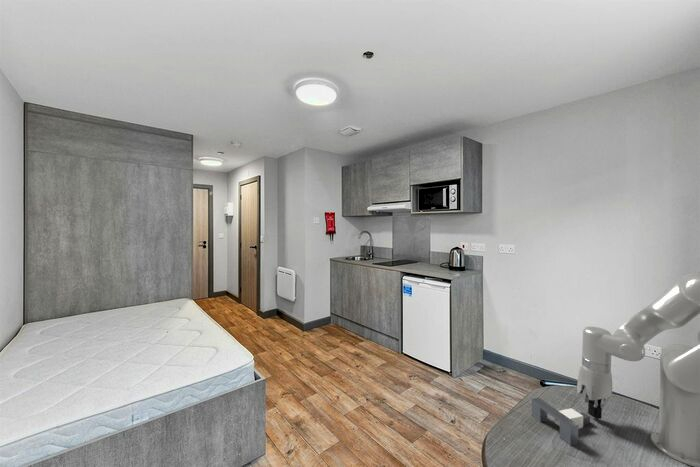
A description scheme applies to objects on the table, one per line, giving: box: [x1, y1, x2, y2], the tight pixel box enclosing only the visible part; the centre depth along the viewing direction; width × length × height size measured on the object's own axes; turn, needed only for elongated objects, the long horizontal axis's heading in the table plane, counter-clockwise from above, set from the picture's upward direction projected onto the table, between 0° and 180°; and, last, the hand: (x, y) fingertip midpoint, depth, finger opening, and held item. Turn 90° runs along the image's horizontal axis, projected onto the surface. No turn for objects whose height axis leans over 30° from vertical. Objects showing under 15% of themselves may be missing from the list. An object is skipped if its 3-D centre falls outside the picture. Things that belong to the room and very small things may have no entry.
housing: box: [531, 397, 579, 446], centre depth 94 cm, size 3×14×6 cm, turn 13°
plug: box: [554, 407, 591, 430], centre depth 96 cm, size 12×4×4 cm, turn 103°
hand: (594, 416), depth 99 cm, fingers closed
